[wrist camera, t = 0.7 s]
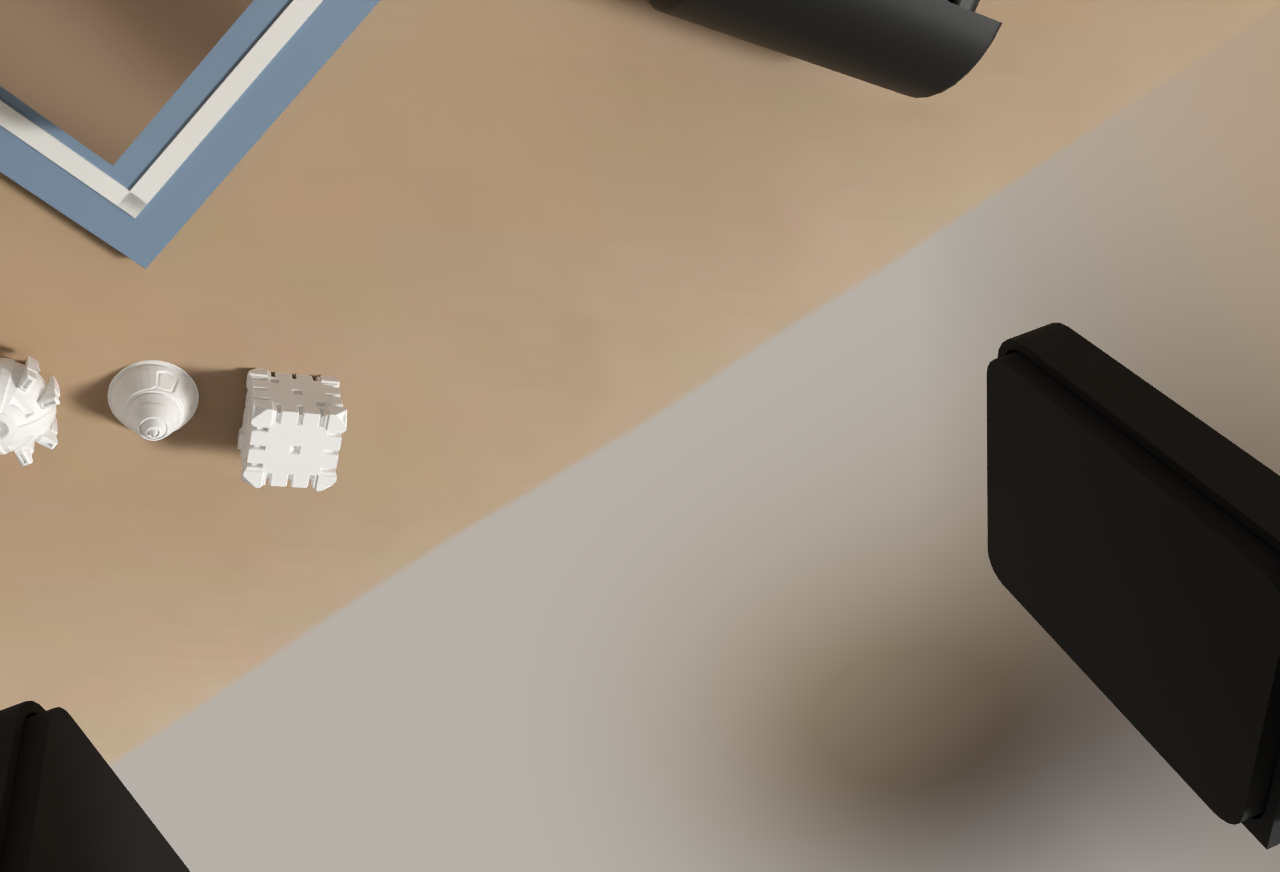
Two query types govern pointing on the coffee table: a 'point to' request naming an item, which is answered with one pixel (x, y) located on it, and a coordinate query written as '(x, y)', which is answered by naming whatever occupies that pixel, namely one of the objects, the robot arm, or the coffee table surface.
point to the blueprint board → (180, 128)
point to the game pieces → (167, 399)
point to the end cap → (858, 35)
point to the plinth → (106, 60)
